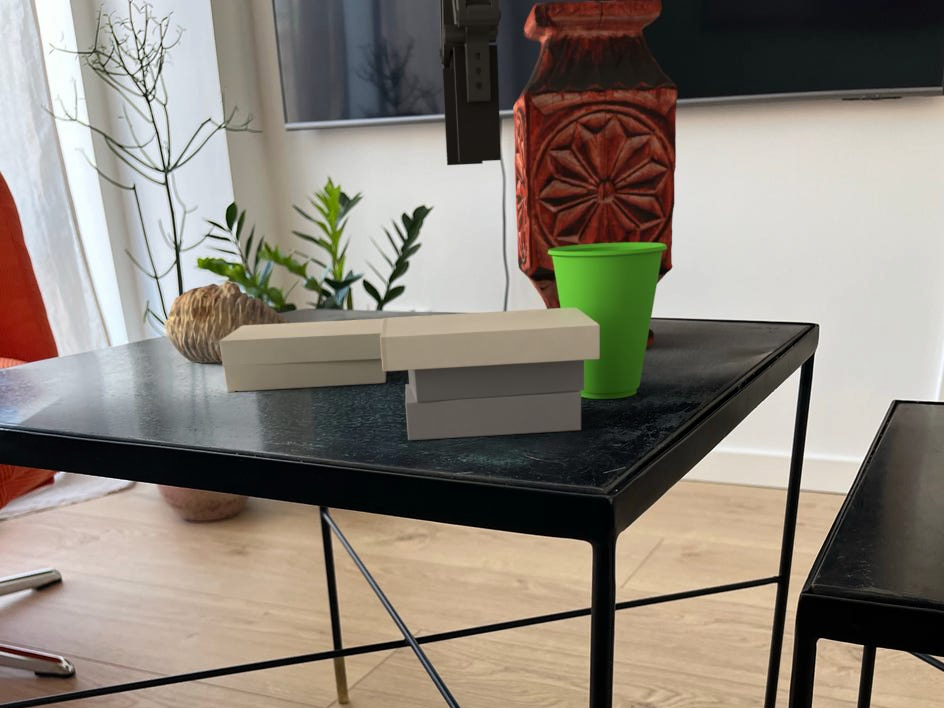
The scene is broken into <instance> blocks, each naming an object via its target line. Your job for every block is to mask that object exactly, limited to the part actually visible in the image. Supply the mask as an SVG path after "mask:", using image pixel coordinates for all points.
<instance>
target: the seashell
mask: <svg viewBox="0 0 944 708" xmlns="http://www.w3.org/2000/svg"><path fill="white" fill-rule="evenodd" d="M284 323H291V322H290V320H289V319H287V318H283V315H281V314H280V313H279V312H277V310H275V309H274V308H272V307H270V305H269V304H268V302H267V301H265V300H263V299H261V298H259V297H254V296H253V295H248V293H246V292H242V291H241V288H240V285H239V284H238V283H236V282H231V281H229V280H228V281H227V280H226V281H224V282H223V284H219V285H218V284H215V283H210V284H209V285H205V286H198V287H193V288H190V289H189V290H187V291H185V292H183V293H182V294H181V295H179V296H177V297H175V299H174V300H173V303H172V304H171V308H170V311H169V312H168V318H167V320H166V321H165V322H163V325H164V329H165V330H166V331H165V333H166V337H167V339H168V340H169V341H170V343H171V344H172V345H173V346H174V348H175V349H176V350H177V351H178V353H179V354H180V355H181V356H183V357H184V358H185V359H186V360H188V361H190V362H191V361H194V362H193V363H197V362H198V363H199V362H200V363H199V364H203V363H205V364H207V363H209V364H211V363H215V364H216V362H217V363H220V362H222V356H221V349H220V342H219V341H220V340H221V339H223V338H225V337H226V336H228V335H229V334H231V333H232V332H234V331H235V330H237V329H238V328H240V327H241V326H243V325H263V324H284Z"/></svg>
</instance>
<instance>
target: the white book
mask: <svg viewBox="0 0 944 708" xmlns="http://www.w3.org/2000/svg"><path fill="white" fill-rule="evenodd" d="M382 319H383V323H382V329H381V334H380V344H381V356H382V368H383V371H387V372H399V371H401V372H402V371H408V370H418V369H436V368H453V367H471V366H488V365H506V364H523V363H541V362H558V361H576V360H593V359H599V356H600V325H599V324H598V323H596V322H595V321H594V320H592V319H591V318H590V317H588V316H587V315H586V314H584V313H583V312H582V311H580V310H579V309H578V308H576V307H574V308H555V309H547V308H539V309H521V310H502V311H484V312H468V313H467V312H466V313H465V312H464V313H449V314H448V313H447V314H430V315H411V316H395V317H392V316H391V317H383V318H382Z"/></svg>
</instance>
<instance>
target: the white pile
mask: <svg viewBox="0 0 944 708" xmlns="http://www.w3.org/2000/svg"><path fill="white" fill-rule="evenodd" d="M382 323H383V318H369V319H367V318H366V319H348V320H346V319H345V320H325V321H307V322H305V321H304V322H290V323H284V324H263V325H243V326H241V327H240V328H238V329H237V330H235V331H234V332H232V333H231V334H229V335H228V336H226V337H225V338H223V339H221V340H220V341H219V342H220V349H221V356H222V361H221V362H222V367H223V373H224V379H225V387H226V392H227V393H232V392H233V393H235V391H238V392H252V391H253V392H255V391H271V390H273V391H274V390H289V389H290V390H291V389H303V388H305V389H307V388H323V387H339V386H340V387H341V386H355V385H357V386H359V385H375V384H376V385H377V384H385V383H386V380H387V372H388V371H383V368H382V356H381V344H380V334H381V329H382Z"/></svg>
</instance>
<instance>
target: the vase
mask: <svg viewBox="0 0 944 708" xmlns="http://www.w3.org/2000/svg"><path fill="white" fill-rule="evenodd" d="M662 10H663V6H662V1H661V0H567V1H565V0H563V1H562V0H561V1H549V2H537V3H535V4H534V5H533V6H532V9H531V10H530V13H529V15H528V16H527V18H526V22H525V24H524V27H523V36H524V37H525V38H526V39H527V40H529V41H535V42H539V43H540V51H539V55H538V58H537V61H536V63H535V66H534V69H533V71H532V73H531V75H530V77H529V79H528V82H527V83H526V85H525V86H524V88H523V89H522V92H521V93H520V95H519V97H517V100H516V101H515V102H514V105H513V108H512V109H513V125H514V184H515V186H514V187H515V212H516V213H515V215H516V230H517V231H516V234H517V235H516V236H517V238H516V239H517V262H518V269H519V270H520V271H521V272H522V273H523V274H524V275H525V277H526V278H528V279H529V281H530V282H531V284H532V285H533V287H534V288H535V290H536V291H537V293H538V294H539V295H540V297H541V299H542V301H543V303H544V305H545V308H546V309H555V308H561V307H560V301H559V295H558V288H557V282H556V276H555V270H554V263H553V257H552V255H550V254H548V251H549V249H551V248H556V247H562V246H572V245H584V244H600V243H632V242H644V243H662V244H665V245H666V247H667V249H665V250H664V251H662V257H661V263H660V269H659V275H658V280H657V284H659V282H660V281H661V280H662V279H663V278H664V277H665V276H666V275H667V273H669V272H670V271H671V270H672V269H673V267H674V266H673V259H672V255H673V254H672V250H673V249H672V248H673V218H674V208H675V172H676V167H677V165H676V161H677V160H676V159H677V147H676V146H677V140H676V138H677V135H676V133H677V132H676V131H677V130H676V128H677V127H676V126H677V125H676V121H677V116H676V115H677V103H678V102H677V100H678V91H679V89H678V87H677V85H676V83H675V82H674V81H673V80H672V79H671V78H670V77H669V76H668V74H666V73H665V72H664V70H663V69H662V68H661V67H660V65H659V63H658V62H657V61H656V59H655V57H654V56H653V54H652V51H651V49H650V48H649V46H648V44H647V42H646V38H645V36H644V33H643V30H644V29H645V27H647V26H649V25H651V24H652V23H653V22H655V21H656V20H657V19H658V18H659V17H660V15H661V14H662ZM654 340H655V333H654V331H653V329H651V328H650V327H649V333H648V339H647V345H646V349H647V348H649V347H650V346H651V345H653V343H654Z"/></svg>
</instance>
